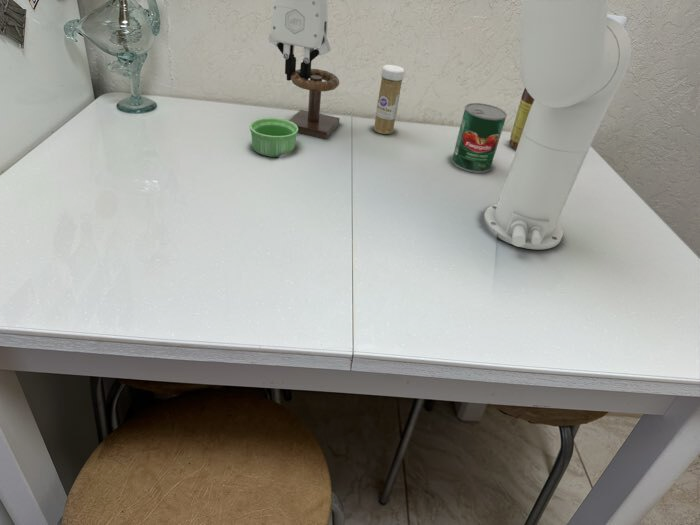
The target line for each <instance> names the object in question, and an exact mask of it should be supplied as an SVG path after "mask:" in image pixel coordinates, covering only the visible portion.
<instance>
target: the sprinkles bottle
mask: <svg viewBox="0 0 700 525" xmlns="http://www.w3.org/2000/svg"><path fill="white" fill-rule="evenodd" d="M380 77H381V80H380V86H379V92H378V99H377V102H376V103H377V104H376V108H375V109H376V110H375V119H374V125H373V130H374V132H376V133H377V134H380V135H392V134H393V133H394V132H395V123H396V118H397V113H398V107H399V102H400V96H401V94H400V93H401V90H402V84H403V80H404V78H405V68H403V66H402V67H401V66H399V65H396V64H395V65H394V64H385V65H382V69H381V73H380Z"/></svg>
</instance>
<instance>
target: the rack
mask: <svg viewBox="0 0 700 525" xmlns="http://www.w3.org/2000/svg"><path fill="white" fill-rule="evenodd" d="M309 80H311V81H320V82H323V80H322V77H321V76H318V75H312V76H310V78H309ZM308 91H309V92H308V95H309V96H308V108H307V110H305V109H300V110H298V112H296V113H295V114H294V115H293V116H292V117H291V118H290V119H288V121H291V122H293V123H294V124H296V125H297V127H298V133H297V134H301V135H306V136H311V137H316V138H319V139H325V140H327V139H328V138H329V136H330V135H332V133H333V132H334V131H335V130H336V128H337V127H338V126H339V125H340V117H337V116H334V115H333V116H332V115H328V114H323V113H320V112H321V98H322V91H311V90H308Z"/></svg>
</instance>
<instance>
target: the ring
mask: <svg viewBox="0 0 700 525" xmlns="http://www.w3.org/2000/svg"><path fill="white" fill-rule="evenodd" d="M312 75H318V76H321V77H322V82H320V81H311V80H310V79H308V80H306V79H304V78H301V77H300V68H299V69H296V71H294V72H293V73H292V74H291V76H290V77H291V80H290V81H291V82H292V84H293V85H294V86H296V87H298V88H300V89H303V90H306V91H309V90H311V91H321V92H328V91H329V92H330V91H333V90H335V89H336V88H338V87H339V85H340V79H339V78H338V76H337V75H336V74H335V73H332V72H330V71H327V70H322V69H319V68H311V75H310V76H312Z"/></svg>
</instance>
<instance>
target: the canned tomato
mask: <svg viewBox="0 0 700 525" xmlns="http://www.w3.org/2000/svg"><path fill="white" fill-rule="evenodd" d="M507 116H508V114H507V112H506V111H505V110H504V109H502V108H500V107H497V106H494V105H492V104H487V103H480V102H471V103H468V104H466V105H465V106H464V110H463V115H462V120H461V123H460V126H459V131H458V134H457V138H456V142H455V146H454V150H453V154H452V157H451V162H452V164H453V165H454V166H455V167H457V168H458V169H460V170H463V171H465V172H468V173H474V174H484V173H488V172H489V171H490V170H491V169H492V164H493V162H494V158H495V155H496V152H497V150H498V149H497V148H498V145H499V142H500V138H501V136H502V132H503V130H504V126H505V122H506V119H507Z"/></svg>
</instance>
